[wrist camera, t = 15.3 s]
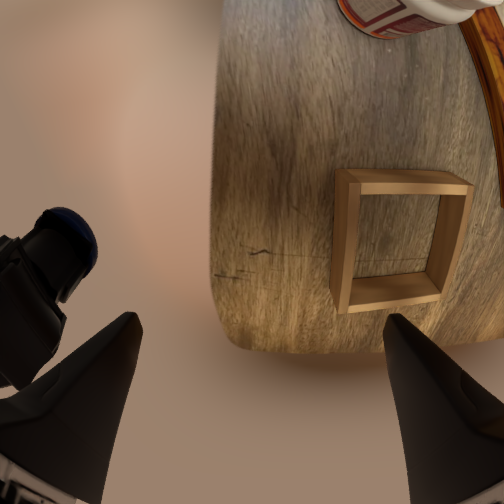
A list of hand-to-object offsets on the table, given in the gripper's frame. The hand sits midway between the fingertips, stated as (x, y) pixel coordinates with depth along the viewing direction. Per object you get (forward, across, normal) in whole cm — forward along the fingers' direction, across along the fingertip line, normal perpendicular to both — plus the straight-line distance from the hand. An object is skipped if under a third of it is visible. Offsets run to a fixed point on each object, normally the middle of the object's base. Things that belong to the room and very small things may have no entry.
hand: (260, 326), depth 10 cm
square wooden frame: (+14, -10, +3) cm, 17 cm away
